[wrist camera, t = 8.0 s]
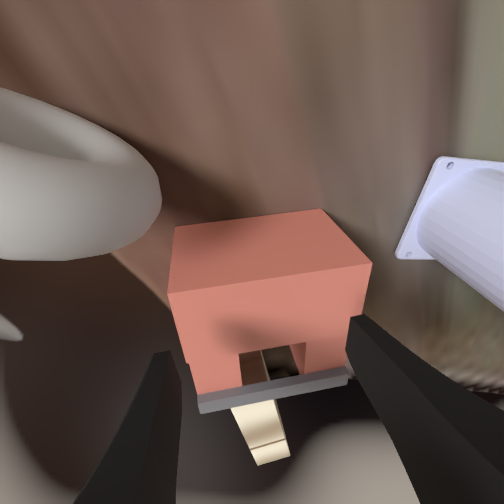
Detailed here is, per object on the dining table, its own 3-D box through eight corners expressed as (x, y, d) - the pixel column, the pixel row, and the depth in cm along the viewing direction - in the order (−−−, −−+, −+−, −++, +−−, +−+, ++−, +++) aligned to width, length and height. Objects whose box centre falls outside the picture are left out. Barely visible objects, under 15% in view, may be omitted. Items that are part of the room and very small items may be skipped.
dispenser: (174, 226, 19) (167, 293, 13) (321, 208, 20) (372, 262, 14) (198, 333, 24) (200, 414, 19) (312, 314, 25) (346, 384, 20)
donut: (178, 149, 16) (162, 230, 8) (159, 202, 18) (129, 318, 9) (-44, 50, 13) (-510, 7, 4) (-46, 127, 14) (-398, 208, 6)
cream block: (219, 337, 25) (225, 398, 20) (254, 327, 25) (269, 385, 20) (247, 408, 32) (257, 465, 27) (276, 399, 32) (290, 455, 27)
